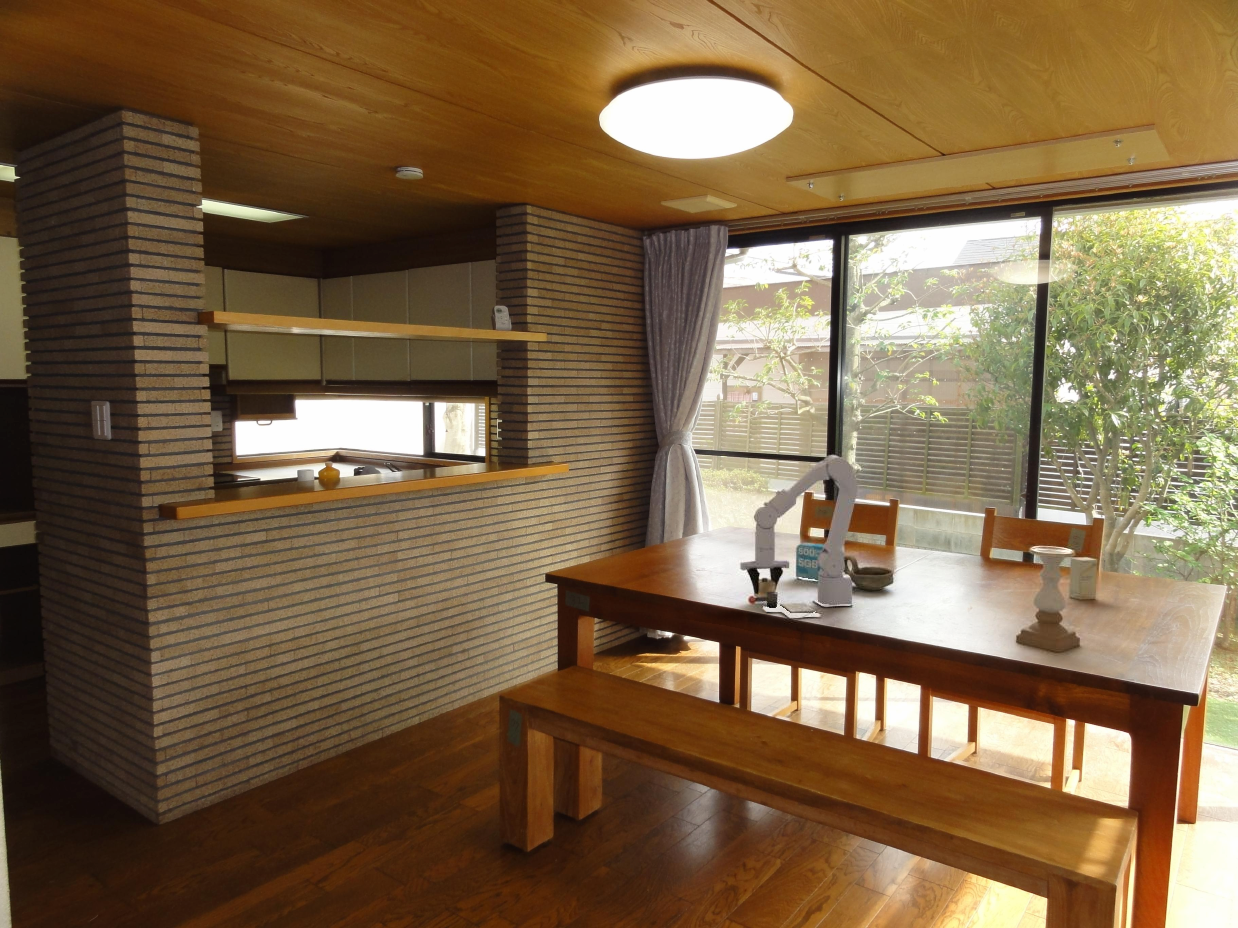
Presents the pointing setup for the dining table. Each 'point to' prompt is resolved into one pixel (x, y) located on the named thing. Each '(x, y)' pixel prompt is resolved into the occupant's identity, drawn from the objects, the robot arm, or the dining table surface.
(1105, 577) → the dining table surface
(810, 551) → the data package
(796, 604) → the grey square slab
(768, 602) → the lever
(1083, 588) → the skincare box
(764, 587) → the block
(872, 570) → the bowl
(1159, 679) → the dining table surface
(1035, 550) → the candle holder
